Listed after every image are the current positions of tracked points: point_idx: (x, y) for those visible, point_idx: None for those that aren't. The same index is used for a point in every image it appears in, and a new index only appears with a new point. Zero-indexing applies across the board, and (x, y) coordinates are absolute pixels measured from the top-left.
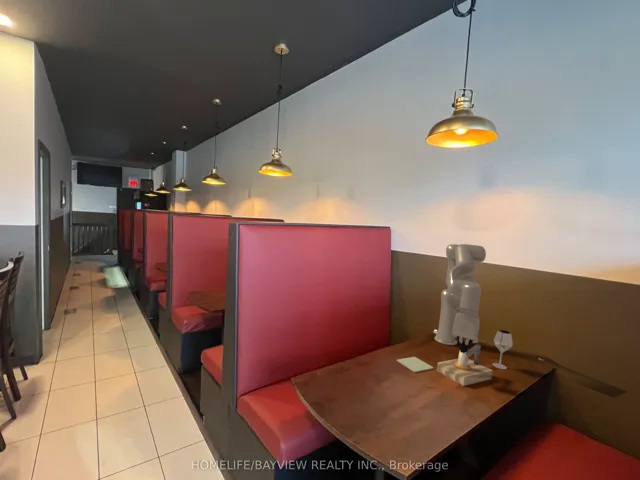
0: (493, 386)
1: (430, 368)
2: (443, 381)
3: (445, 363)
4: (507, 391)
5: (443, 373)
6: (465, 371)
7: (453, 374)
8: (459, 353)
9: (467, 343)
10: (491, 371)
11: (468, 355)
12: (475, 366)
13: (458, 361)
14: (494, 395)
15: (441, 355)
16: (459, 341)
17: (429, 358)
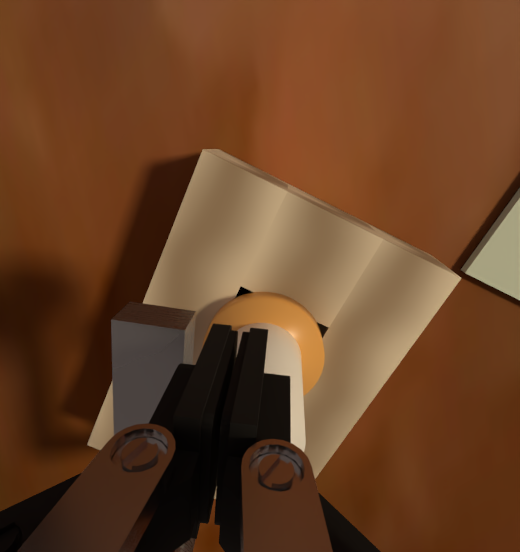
0: (77, 311)
1: (485, 242)
2: (357, 103)
3: (395, 309)
4: (4, 307)
5: (379, 230)
6: (223, 278)
7: (302, 196)
8: (297, 404)
9: (116, 461)
10: (93, 431)
11: (152, 306)
12: None
13: (295, 351)
14: (33, 184)
15: (432, 512)
16: (311, 470)
17: (506, 419)
